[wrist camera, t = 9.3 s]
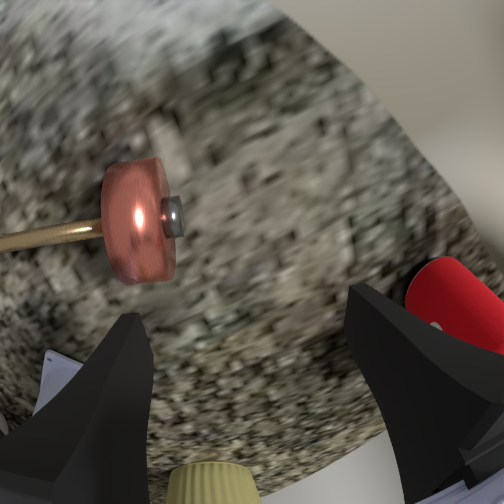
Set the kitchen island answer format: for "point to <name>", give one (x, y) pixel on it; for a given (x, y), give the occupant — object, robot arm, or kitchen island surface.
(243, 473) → the potted cactus
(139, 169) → the copper knob on rod
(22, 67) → the kitchen island surface
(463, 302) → the beverage can
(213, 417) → the kitchen island surface
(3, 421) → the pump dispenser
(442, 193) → the kitchen island surface
